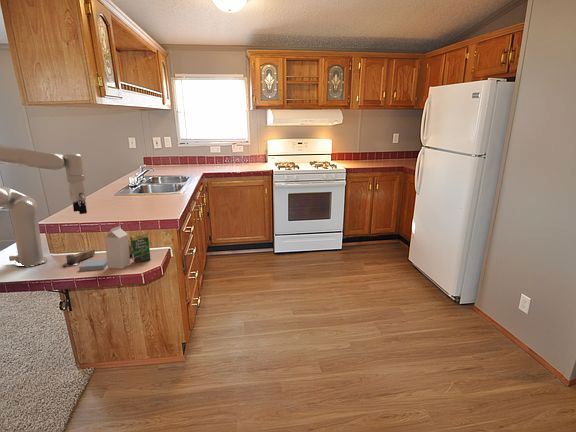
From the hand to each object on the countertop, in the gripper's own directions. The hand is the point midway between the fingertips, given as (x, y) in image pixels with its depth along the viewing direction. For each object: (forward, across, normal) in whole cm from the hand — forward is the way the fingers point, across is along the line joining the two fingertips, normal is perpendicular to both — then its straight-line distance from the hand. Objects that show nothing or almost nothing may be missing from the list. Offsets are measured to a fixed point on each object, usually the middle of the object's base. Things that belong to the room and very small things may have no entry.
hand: (80, 212), depth 172 cm
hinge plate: (+23, +10, -9) cm, 27 cm away
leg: (+23, +7, -4) cm, 24 cm away
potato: (+24, +15, +17) cm, 33 cm away
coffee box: (+24, +29, +17) cm, 41 cm away
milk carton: (+24, +29, +6) cm, 38 cm away
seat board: (+23, +22, -2) cm, 32 cm away
